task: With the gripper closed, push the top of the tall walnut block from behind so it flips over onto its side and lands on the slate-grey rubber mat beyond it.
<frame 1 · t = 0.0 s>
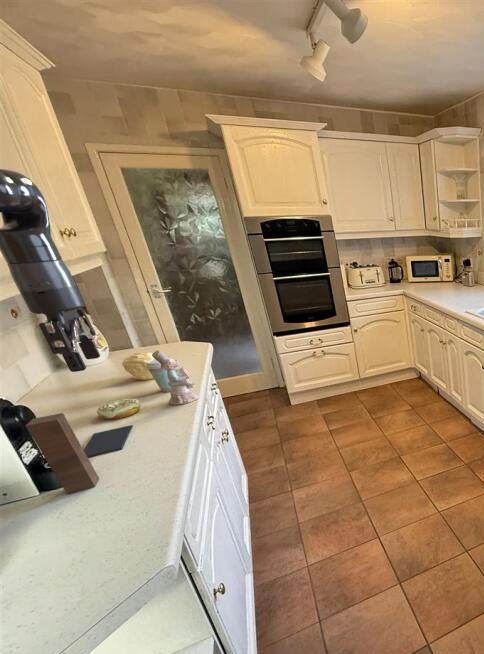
hand: (86, 364, 82), 33 cm above the countertop, tool pointing down, fingers open, 8 cm apart
walnut block: (83, 486, 97), on the countertop
figurine: (185, 401, 141), on the countertop
coffee cup: (171, 389, 151), on the countertop
rubber mat: (107, 442, 116), on the countertop
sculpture: (151, 377, 163), on the countertop
decorated donut: (122, 414, 133), on the countertop
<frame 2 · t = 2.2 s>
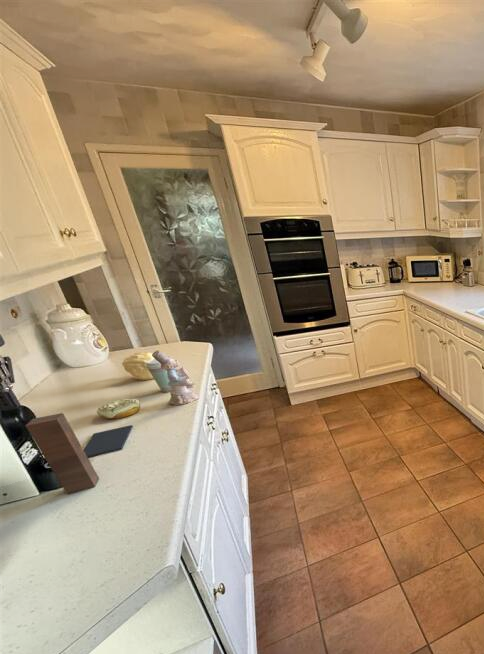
hand: (12, 408, 80), 26 cm above the countertop, tool pointing down, fingers closed
nothing on the countertop moved.
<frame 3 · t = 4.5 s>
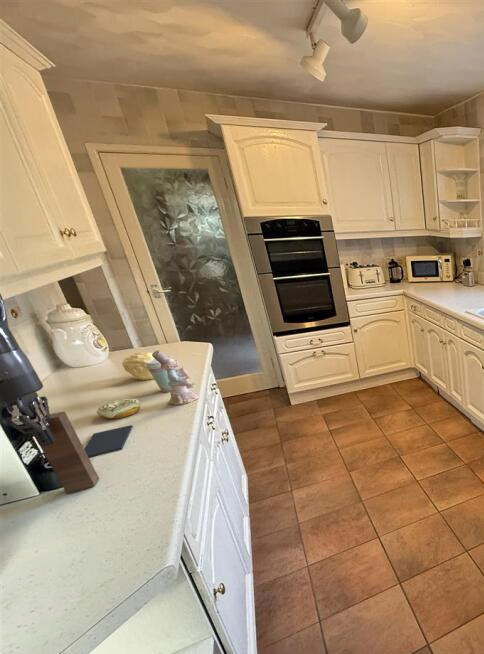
hand: (48, 443, 88), 14 cm above the countertop, tool pointing down, fingers closed
walnut block: (83, 486, 97), on the countertop, touching hand
everything else where it was.
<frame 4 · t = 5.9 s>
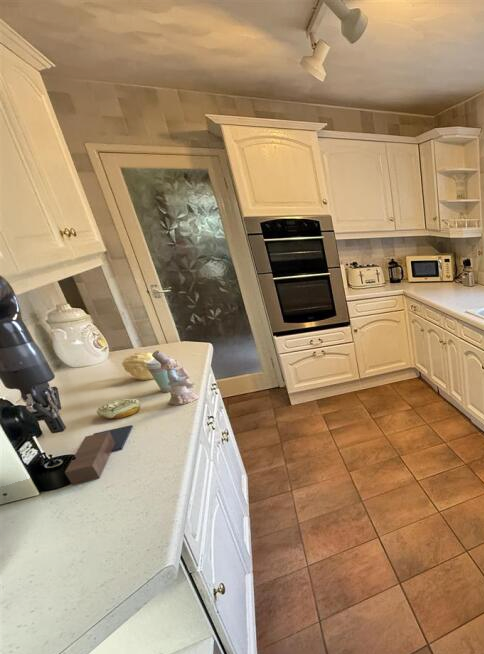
hand: (59, 431, 94), 14 cm above the countertop, tool pointing down, fingers closed
walnut block: (82, 475, 98), point 2 cm above the countertop, tilted 88°, touching rubber mat
everything else where it was.
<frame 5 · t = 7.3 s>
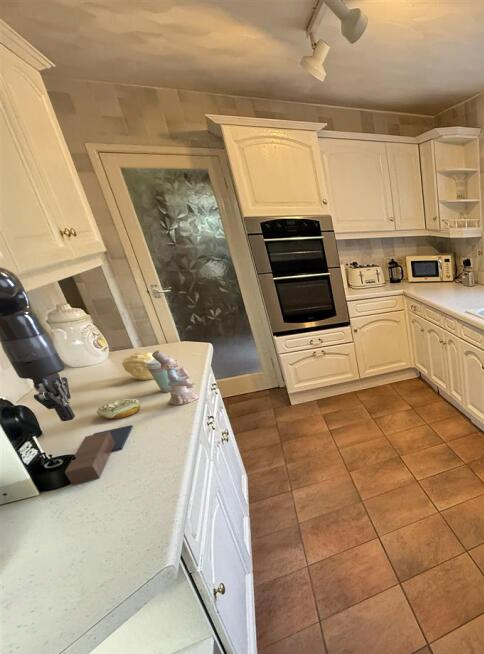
hand: (68, 419, 99), 14 cm above the countertop, tool pointing down, fingers closed
nothing on the countertop moved.
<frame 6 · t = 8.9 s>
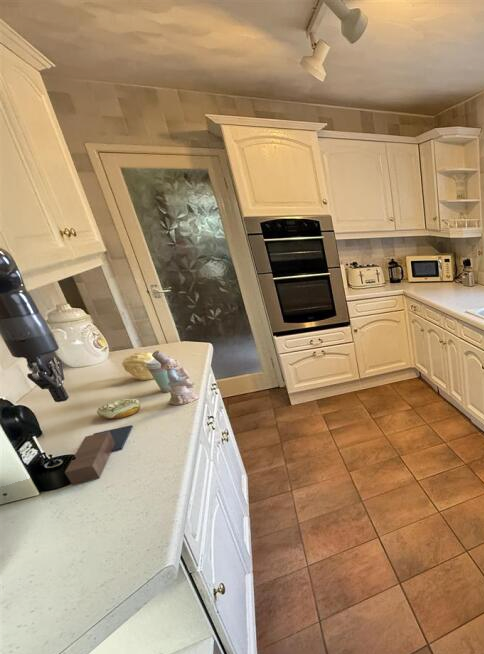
hand: (62, 400, 99), 19 cm above the countertop, tool pointing down, fingers closed
nothing on the countertop moved.
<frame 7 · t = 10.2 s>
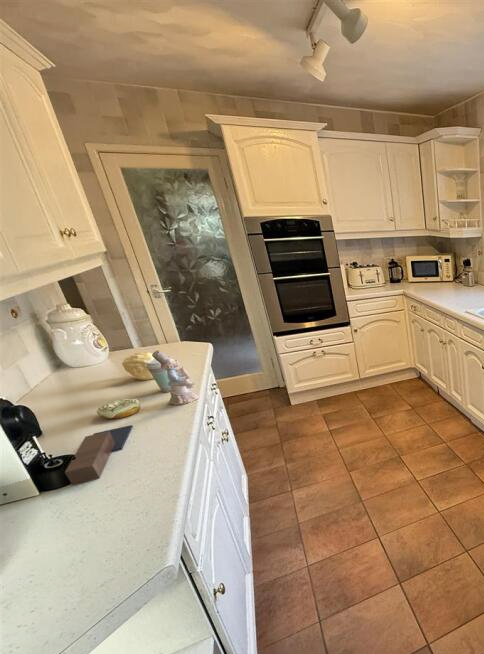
nothing on the countertop moved.
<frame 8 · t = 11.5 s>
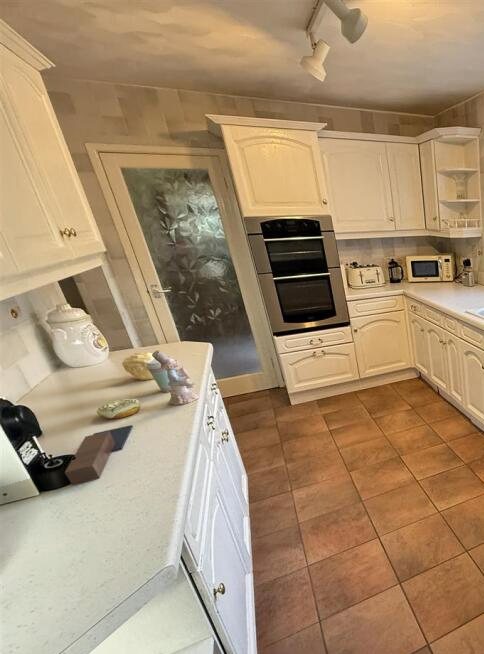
nothing on the countertop moved.
at the end: walnut block tilted 88°; walnut block touching rubber mat, countertop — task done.
